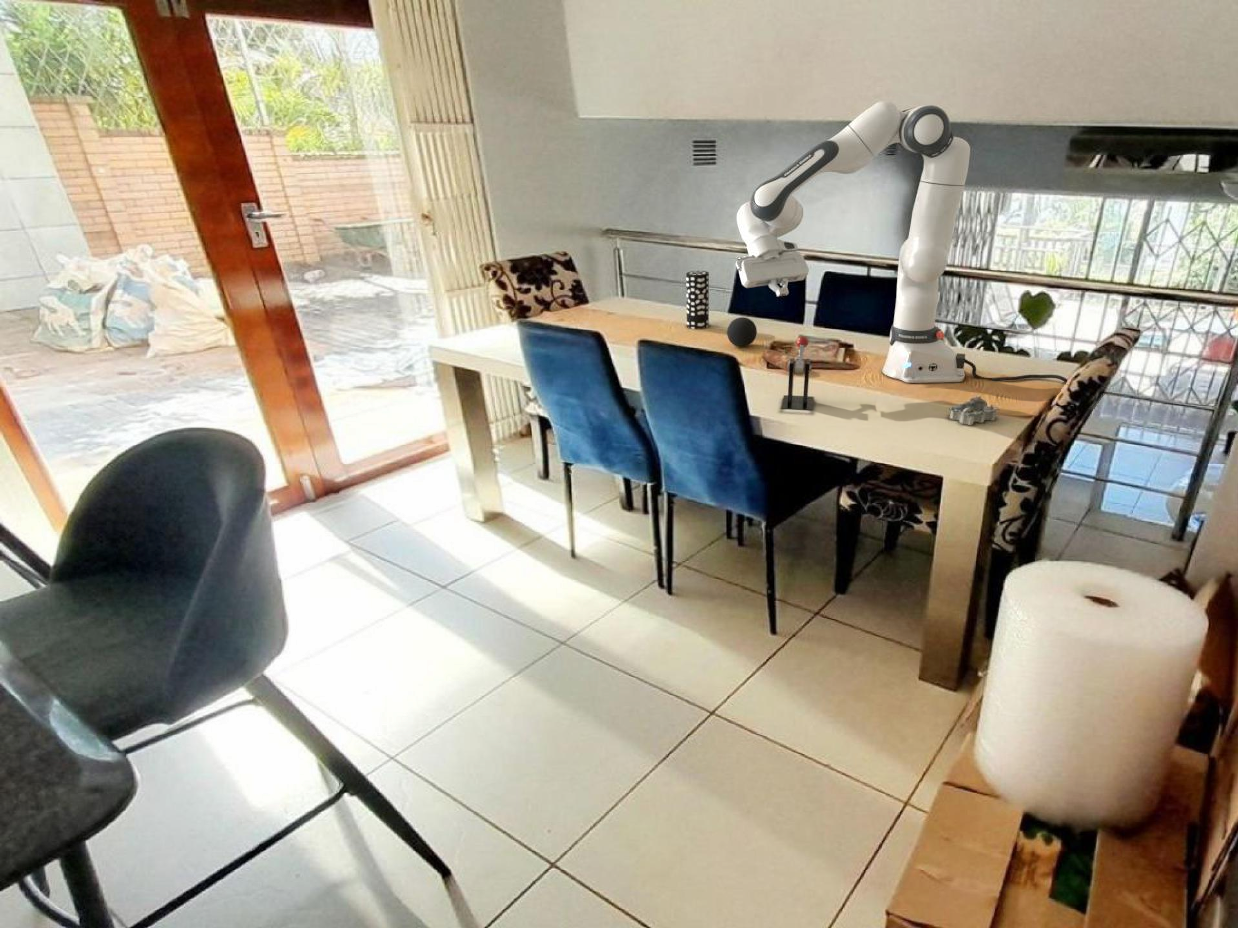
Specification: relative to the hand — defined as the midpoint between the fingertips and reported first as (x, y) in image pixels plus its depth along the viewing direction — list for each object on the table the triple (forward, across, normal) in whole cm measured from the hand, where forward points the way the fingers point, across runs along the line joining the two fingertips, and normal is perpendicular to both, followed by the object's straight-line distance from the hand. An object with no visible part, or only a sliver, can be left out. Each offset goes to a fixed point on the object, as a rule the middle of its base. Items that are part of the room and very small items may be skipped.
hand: (783, 294), depth 195 cm
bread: (+10, +8, +27) cm, 30 cm away
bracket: (+31, -6, +6) cm, 32 cm away
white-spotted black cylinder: (-31, +8, +68) cm, 76 cm away
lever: (+20, -2, +1) cm, 20 cm away
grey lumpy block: (+51, +28, -13) cm, 59 cm away
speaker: (-9, +9, +46) cm, 48 cm away
